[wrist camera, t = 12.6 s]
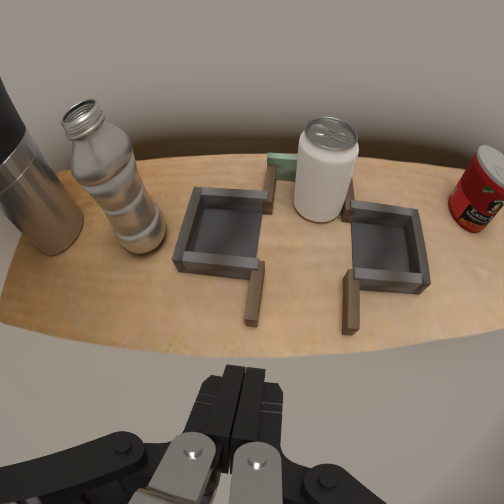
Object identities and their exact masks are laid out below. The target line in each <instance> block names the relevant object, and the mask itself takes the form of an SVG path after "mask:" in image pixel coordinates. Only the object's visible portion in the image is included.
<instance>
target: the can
mask: <svg viewBox="0 0 504 504" xmlns="http://www.w3.org/2000/svg"><path fill="white" fill-rule="evenodd" d="M357 141H358V135H357V132H356V131H355V129H354V128H353V127H352V126H350V125H349V124H348V123H346V122H344V121H342V120H339V119H336V118H332V117H318V118H314V119H312V120H310V121H308V122H307V123H306V125H305V128H304V131H303V133H302V134H301V136H300V140H299V148H298V159H297V169H296V180H295V190H294V206H295V208H296V210H297V211H298V212H299V214H300V215H302V216H303V217H304V218H306V219H308V220H311V221H314V222H327V221H331V220H333V219H335V218H336V217H337V216H338V215H339V214H340V212H341V210H342V207H343V204H344V201H345V197H346V194H347V191H348V188H349V184H350V181H351V178H352V174H353V171H354V167H355V164H356V160H357V156H358V150H359V148H358V143H357Z"/></svg>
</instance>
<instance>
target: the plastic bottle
mask: <svg viewBox="0 0 504 504" xmlns="http://www.w3.org/2000/svg"><path fill="white" fill-rule="evenodd" d="M104 119H105V116H104V113H103V111H102V110H101V109H100V107H99V104H98V102H97V100H95V99H93V98H92V99H86V100H83V101H81V102H79V103H77V104H75V105H74V106H73V107H71V108H70V109H69V110H68V111H66V113H65V114H64V115H63V116H62V118H61V124H62V126H63V128H64V130H65V132H66V133H65V134H66V136H67V138H68V140H70V141H72V145H71V150H70V162H69V163H70V167H71V172H72V175H73V176H74V178H75V179H76V180H77V182H78V183H79V184H80V185H81V186H82V187H83V188H84V189H85V190H86V191H87V192H88V193H89V194H90V195H91V196H92V197H93V198H94V200H95V201H96V202H97V203H98V205H99V206H100V207H101V208H102V210H103V211H104V212H105V214H106V216H107V218H108V220H109V221H110V223H111V225H112V227H113V229H114V232H115V235H116V237H117V239H118V241H119V242H120V244H121V245H122V246H123V247H125V248H126V249H127V250H129V251H130V252H132V253H137V254H141V253H147V252H149V251H152V250H153V249H155V248H156V247H157V246H158V245H159V244H160V243H161V241H162V239H163V237H164V235H165V232H166V223H165V218H164V215H163V213H162V211H161V209H160V208H159V207H158V205H157V204H156V203H155V202H154V201H153V200H152V198H151V197H150V195H149V194H148V192H147V190H146V189H145V187H144V185H143V182H142V180H141V177H140V174H139V172H138V169H137V166H136V162H135V158H134V155H133V150H132V146H131V143H130V139H129V138H128V136H127V135H126V134H125V133H124V132H123V131H122V130H121V129H119V128H118V127H116V126H114V125H112V124H109V123H107V122H104Z"/></svg>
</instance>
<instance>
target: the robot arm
mask: <svg viewBox="0 0 504 504" xmlns="http://www.w3.org/2000/svg"><path fill="white" fill-rule="evenodd" d="M0 211H1V212H2V213H3V214H4V215H5V216H6V217H7V218H8V219H9V220H10V221H11V222H12V223H13V224H14V225H15V226H16V227H17V228H18V229H19V230H20V232H21V233H22V234H23V235H24V236H26V237H27V239H28V240H29V241H30V242H31V243H32V244H34V245H35V246H36V247H37V248H38V249H39V250H40V251H41V252H42V253H43V254H45V255H56V254H59V253H61V252H62V251H64V250H65V249H67V248H68V247H69V246H70V245H71V244H72V243H73V242H74V240H75V239H76V238H77V236H78V234H79V232H80V230H81V228H82V224H83V214H82V211H81V210H80V208H79V207H78V205H77V204H76V203H75V201H74V200H73V198H72V197H71V196H70V194H69V193H68V191H67V190H66V188H65V187H64V185H63V184H62V183H61V181H60V180H59V178H58V177H57V175H56V174H55V172H54V171H53V169H52V168H51V166H50V165H49V163H48V162H47V160H46V159H45V157H44V156H43V154H42V153H41V151H40V149H39V148H38V146H37V145H36V143H35V141H34V140H33V138H32V136H31V135H30V133H29V131H28V130H27V128H26V127H25V125H24V123H23V121H22V120H21V118H20V116H19V114H18V113H17V111H16V109H15V107H14V105H13V103H12V101H11V99H10V97H9V95H8V94H7V91H6V89H5V87H4V85H3V83H2V80H1V78H0ZM245 370H246V373H245ZM264 378H265V369H258V368H250V367H247V369H245V367H242V366H234V365H226V367H225V370H224V374H223V377H220V376H214V375H211V376H210V377H208V378H207V379H206V380H205V381H204V382H203V383H202V385H201V388H200V391H199V394H198V396H197V398H196V402H195V403H194V406H193V408H192V411H191V414H190V416H189V419H188V421H187V424H186V426H185V429H184V431H183V433H182V434H180V435H178V436H176V437H175V438H174V439H173V440H172V441H170V442H167V443H143V442H142V440H141V439H140V438H139V437H138V436H136V435H135V434H133V433H130V432H125V431H120V432H114V433H111V434H109V435H106V436H104V437H101V438H98V439H96V440H93V441H90V442H87V443H84V444H81V445H78V446H76V447H72V448H69V449H66V450H63V451H60V452H57V453H54V454H51V455H47V456H43V457H40V458H37V459H33V460H29V461H25V462H21V463H17V464H13V465H9V466H4V467H0V504H212V502H213V500H214V497H215V494H216V491H217V487H218V484H219V480H220V476H221V473H227V474H228V471H229V467H230V474H232V480H231V489H230V498H229V504H386V503H385V502H384V501H383V500H381V499H380V498H378V497H377V496H376V495H375V494H373V493H372V492H371V491H370V490H369V489H367V488H366V487H365V486H364V485H363V484H361V483H360V482H359V481H358V480H356V479H355V478H354V477H353V476H352V475H350V474H349V473H348V472H347V471H346V470H344V469H343V468H342V467H340V466H337V465H334V464H320V465H317V466H315V467H313V468H308V467H305V466H301V465H298V464H296V463H293V462H291V461H290V460H289V459H287V458H286V457H285V456H284V454H283V453H282V450H281V447H280V440H281V424H282V403H283V392H282V390H281V388H280V386H279V384H278V383H269V382H264Z"/></svg>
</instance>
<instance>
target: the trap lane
mask: <svg viewBox="0 0 504 504" xmlns="http://www.w3.org/2000/svg"><path fill="white" fill-rule="evenodd" d="M297 159H298V155H291V154H279V153H268V156H267V171H266V178H265V185H264V191H255V190H240V189H224V188H205V187H194V189H193V192H192V195H191V198H190V201H189V204H188V207H187V211H186V214H185V217H184V220H183V223H182V226H181V230H180V233H179V236H178V240H177V243H176V246H175V250H174V253H173V257H172V261H173V263H174V264H175V266H176V268H177V270H178V271H179V272H185V273H194V274H202V275H211V276H220V277H229V278H238V279H247V280H250V285H249V291H248V298H247V305H246V311H245V318H244V319H245V324H246V326H253V327H257V326H258V319H259V311H260V304H261V296H262V288H263V281H264V273H265V261H259V258H256V254H257V247H258V240H259V234H260V227H261V220H262V214H271V215H272V209H273V200H274V192H275V184H276V179H278V180H290V181H295V180H296V169H297ZM341 213H342V222H350V223H351V233H352V255H353V269H348V271H347V273H346V275H345V276H344V278H343V320H342V334H344V335H353V334H354V333H355V332H357V331H358V330H359V322H360V294H359V290H367V291H380V292H394V293H409V294H420V293H422V292H423V291H424V290H425V289H426V288H427V287H428V286H429V285H430V284H431V281H430V273H429V266H428V260H427V254H426V248H425V242H424V237H423V232H422V227H421V222H420V217H419V213H418V209H412V208H405V207H399V206H392V205H385V204H378V203H371V202H363V201H355V200H354V190H353V181H352V178H351V181H350V184H349V188H348V191H347V194H346V197H345V201H344V204H343V207H342V210H341Z"/></svg>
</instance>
